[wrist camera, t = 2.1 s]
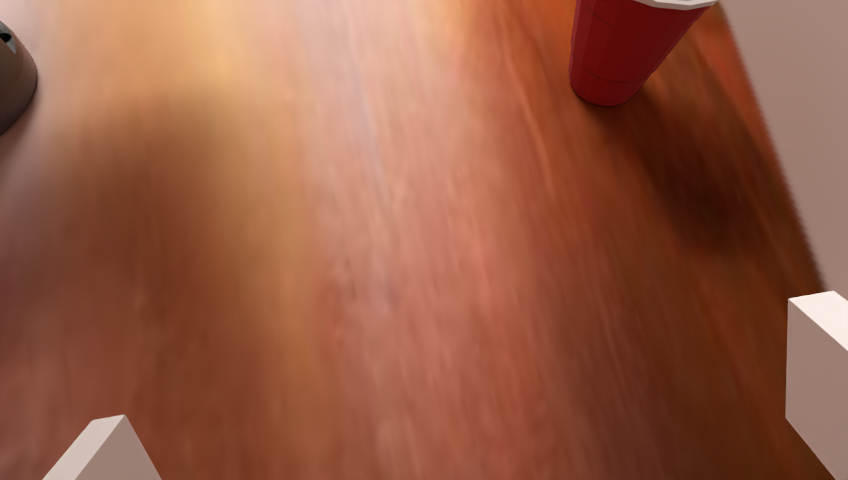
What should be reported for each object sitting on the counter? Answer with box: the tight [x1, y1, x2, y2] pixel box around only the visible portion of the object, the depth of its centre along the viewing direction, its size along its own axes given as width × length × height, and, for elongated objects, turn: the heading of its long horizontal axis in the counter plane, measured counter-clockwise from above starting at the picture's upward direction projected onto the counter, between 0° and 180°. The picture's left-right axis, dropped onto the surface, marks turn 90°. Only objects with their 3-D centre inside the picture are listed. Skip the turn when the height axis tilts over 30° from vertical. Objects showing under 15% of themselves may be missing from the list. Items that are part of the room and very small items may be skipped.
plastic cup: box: [569, 0, 718, 106], centre depth 42 cm, size 11×11×12 cm
